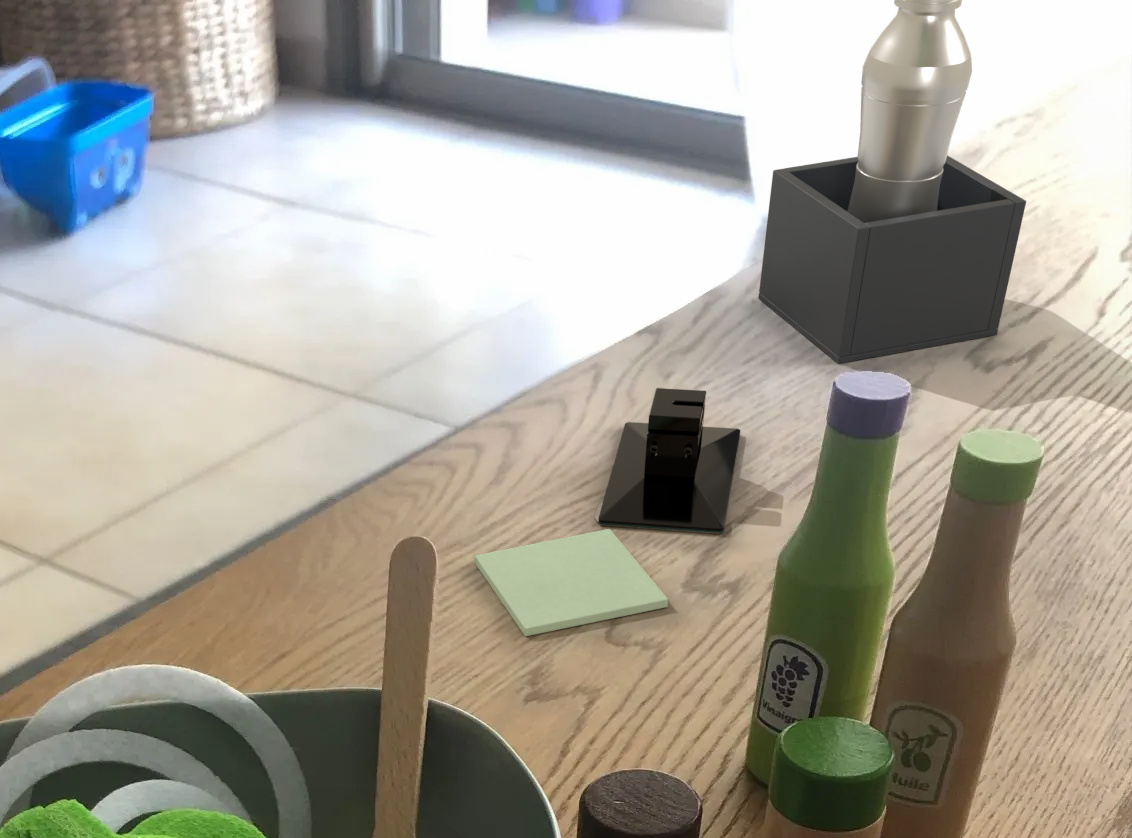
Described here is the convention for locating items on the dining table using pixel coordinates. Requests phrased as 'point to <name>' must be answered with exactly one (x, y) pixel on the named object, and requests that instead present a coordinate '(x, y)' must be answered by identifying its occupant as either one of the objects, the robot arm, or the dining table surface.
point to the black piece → (672, 469)
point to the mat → (569, 582)
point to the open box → (887, 262)
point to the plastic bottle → (909, 110)
